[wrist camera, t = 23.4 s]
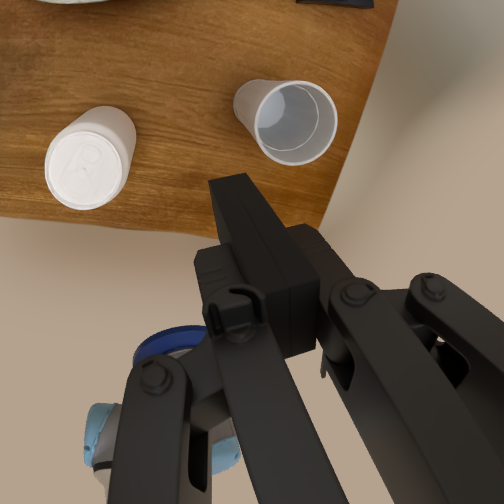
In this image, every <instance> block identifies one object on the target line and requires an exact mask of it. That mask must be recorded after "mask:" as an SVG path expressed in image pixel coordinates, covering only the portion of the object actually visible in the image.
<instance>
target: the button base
mask: <svg viewBox="0 0 504 504" xmlns="http://www.w3.org/2000/svg"><path fill="white" fill-rule="evenodd" d="M296 3H303V4H322V5H335V6H345V7H354V8H362V9H369V8H374V2H373V0H296Z"/></svg>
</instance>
